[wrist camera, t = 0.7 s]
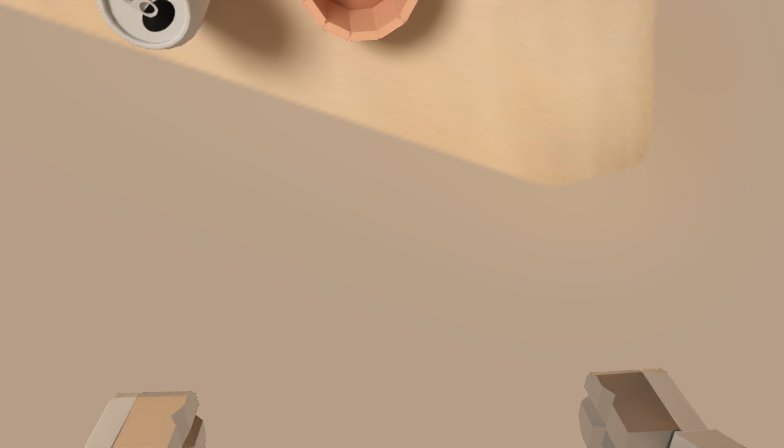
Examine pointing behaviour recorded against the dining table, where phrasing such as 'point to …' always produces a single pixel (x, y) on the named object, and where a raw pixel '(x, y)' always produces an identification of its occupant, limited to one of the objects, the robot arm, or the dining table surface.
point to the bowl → (360, 17)
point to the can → (154, 20)
